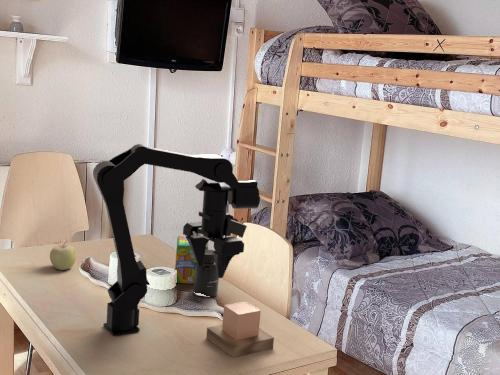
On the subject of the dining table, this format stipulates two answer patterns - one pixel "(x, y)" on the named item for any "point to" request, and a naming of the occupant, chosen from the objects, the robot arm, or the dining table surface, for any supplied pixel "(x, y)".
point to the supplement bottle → (206, 276)
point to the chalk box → (185, 261)
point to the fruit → (63, 257)
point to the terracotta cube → (241, 320)
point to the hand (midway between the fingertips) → (210, 271)
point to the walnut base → (239, 342)
